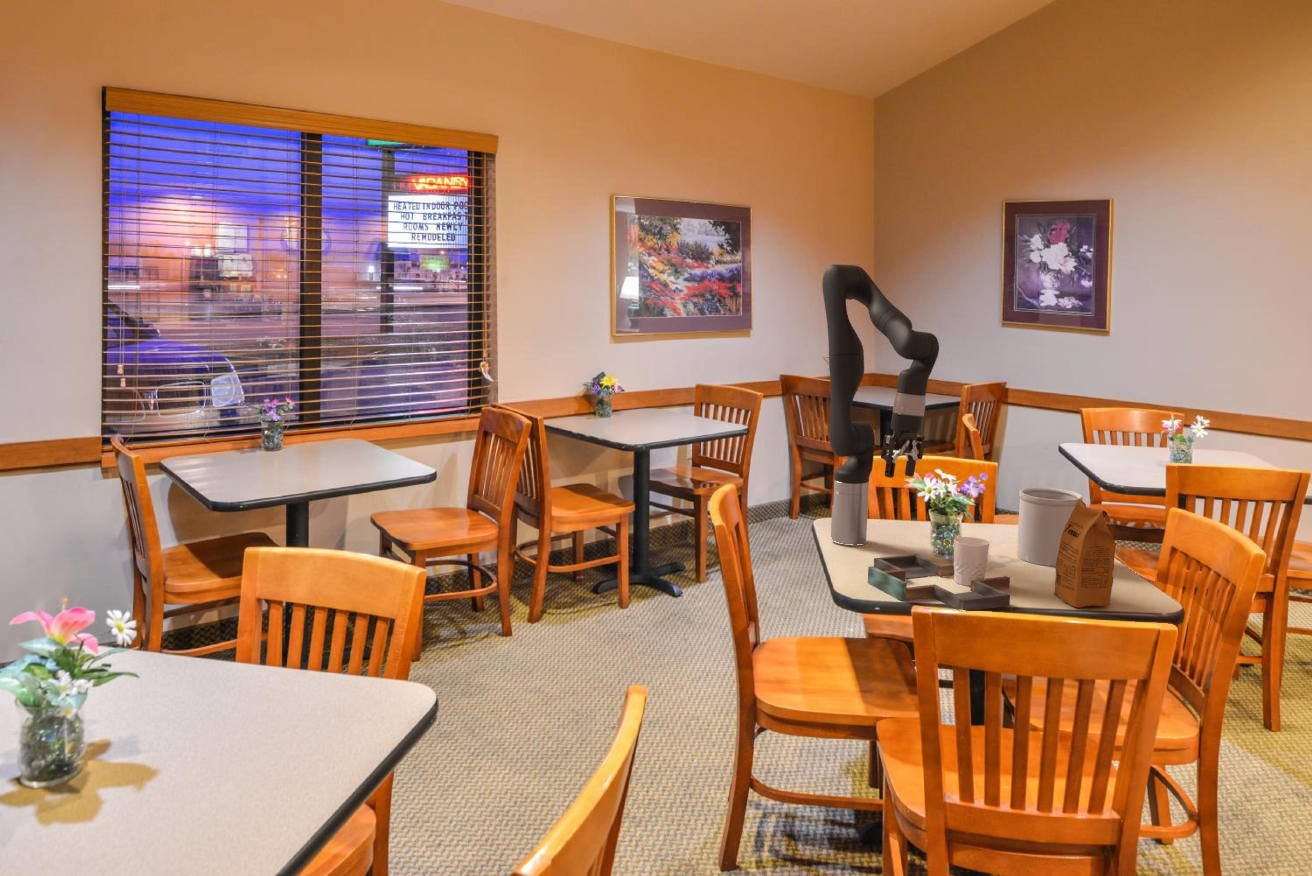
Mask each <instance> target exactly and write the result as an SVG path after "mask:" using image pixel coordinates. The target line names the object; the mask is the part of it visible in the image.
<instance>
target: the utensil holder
mask: <svg viewBox="0 0 1312 876" xmlns="http://www.w3.org/2000/svg"><path fill="white" fill-rule="evenodd" d="M1078 500H1082V501H1083V495H1082V494H1080V493H1079V492H1076V491H1072V490H1068V489H1064V488H1063V489H1062V488H1056V487H1047V486H1044V487H1043V486H1037V487H1036V486H1034V487H1033V486H1032V487H1031V486H1030V487H1024V488H1020V489H1019V507H1018V508H1019V509H1018V510H1019V511H1018V528H1017V541H1016V542H1017V545H1016V548H1017V549H1016V555H1017V558H1018V559H1020V560H1021V561H1024V562H1027V563H1031V564H1034V565H1039V566H1045V567H1056V559H1057V555H1058V550H1059V545H1060V541H1061V537H1062V533H1063V531H1064V528H1065V525H1066V523H1067V521H1068V520H1069V518H1070V516H1071V513H1072V511H1073V509H1074V508H1075V506H1076V503H1077V502H1078Z"/></svg>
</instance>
